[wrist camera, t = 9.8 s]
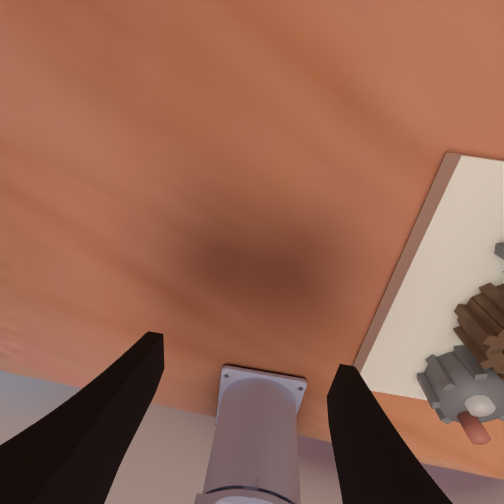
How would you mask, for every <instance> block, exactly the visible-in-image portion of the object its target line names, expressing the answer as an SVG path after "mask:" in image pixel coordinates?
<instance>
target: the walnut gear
mask: <svg viewBox="0 0 504 504" xmlns="http://www.w3.org/2000/svg"><path fill="white" fill-rule="evenodd" d="M479 289H480V291H481V293H479V294H477V295H475V296H472V298H470V299H469V301H468V302H467V304H466V305H465V304H458V305H457V307H456V309H455V310H454V312H455V313H456V315H457V316H458V318H457V321H458V323H459V325H460V326H458V327H455V328H453V330H454V332H455V334H456V335H457V336H458V338H459V339H460V340H461V341H462V343H463V344H464V345H465V346H466V348H467V349H468V350H469V352H470V353H471V354H472V355H473V357H474V358H475V359H476V360H477V362H478V363H479V364H480V365H481V367H482V368H483V369H487V368H490V367H492V369H493V370H494V371H495V372H496V373H497V375H498V376H499V377H500V378H501V379H502V380H504V284H501V285H498V286H496V287H495V286H494V285H493V284H492V283H488V284H485V285H483V286H481V287H479Z"/></svg>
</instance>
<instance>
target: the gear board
mask: <svg viewBox="0 0 504 504" xmlns="http://www.w3.org/2000/svg"><path fill="white" fill-rule="evenodd" d="M488 283H492V284H493V285H494V286H495V287H496V286H498V285H501V284H504V160H498V159H491V158H484V157H477V156H470V155H464V154H457V153H450V152H446V154H445V156H444V159H443V161H442V163H441V165H440V168H439V170H438V172H437V175H436V177H435V179H434V181H433V184H432V186H431V188H430V191H429V193H428V195H427V197H426V200H425V202H424V204H423V206H422V209H421V211H420V213H419V216H418V218H417V220H416V222H415V225H414V227H413V229H412V232H411V234H410V236H409V238H408V241H407V243H406V245H405V248H404V250H403V252H402V254H401V257H400V259H399V261H398V264H397V266H396V268H395V270H394V273H393V275H392V277H391V280H390V282H389V284H388V286H387V289H386V291H385V293H384V296H383V298H382V300H381V302H380V305H379V307H378V309H377V312H376V314H375V316H374V318H373V321H372V323H371V325H370V327H369V330H368V332H367V334H366V337H365V339H364V341H363V343H362V346H361V348H360V350H359V353H358V355H357V357H356V359H355V362H354V364H353V366H355V367H356V368H357V370H358V371H359V373H360V375H361V376H362V378H363V379H364V381H365V383H366V384H367V386H368V388H369V389H370V390H371V391H377V392H382V393H388V394H394V395H400V396H406V397H411V398H417V399H423V400H428V402H429V404H430V406H431V407H432V409H435V411H436V412H437V414H438V416H439V418H440V420H441V421H443V422H445V423H447V424H449V423H450V422H452V421H456V422H460V424H461V425H462V427H463V429H464V431H465V432H466V434H467V436H468V437H469V439H470V441H471V442H472V443H473V444H476V445H482V444H486V443H488V442H489V441H490V440H491V438H490V436H489V434H488V433H487V431H486V430H485V428H484V427H483V425H482V424H481V423H482V422H487V421H491V420H494V419H497V418H498V419H500V420H502V421H504V380H502V379H501V378H500V377H499V376H498V375H497V373H496V372H495V371H494V370H493V369H492V367H490V368H487V369H483V368H482V367H481V365H480V364H479V363H478V362H477V360H476V359H475V358H474V357H473V355H472V354H471V353H470V352H469V350H468V349H467V348H466V346H465V345H464V344H463V343H462V341H461V340H460V339H459V338H458V336H457V335H456V334H455V332H454V330H453V328H455V327H458V326H460V325H459V323H458V321H457V318H458V316H457V315H456V313H455V312H454V310H455V309H456V307H457V305H458V304H465V305H466V304H467V302H468V301H469V299H470V298H472V296H475V295H477V294H479V293H481V291H480V289H479V287H481V286H483V285H485V284H488Z"/></svg>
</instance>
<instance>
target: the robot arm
mask: <svg viewBox="0 0 504 504" xmlns="http://www.w3.org/2000/svg"><path fill="white" fill-rule="evenodd" d="M163 371H164V343H163V334H161V333H155V332H147V333H146V334H145V335H143V336H142V337H141V338H140V339H139V340H138V341H137V342H136V343H135V344H134V345H133V346H132V347H131V348H130V349H129V350H127V351H126V352H125V353H124V354H123V355H122V356H121V357H120V358H119V359H117V360H116V361H115V362H114V363H113V364H112V365H111V366H109V367H108V368H107V369H106V370H105V371H104V372H102V373H101V374H100V375H99V376H98V377H96V378H95V379H94V380H93V381H91V382H90V383H89V384H88V385H86V386H85V387H84V388H83V389H81V390H80V391H79V392H78V393H76V394H75V395H74V396H72V397H71V398H70V399H69V400H67V401H66V402H64V403H63V404H62V405H60V406H59V407H58V408H56V409H55V410H53V411H52V412H50V413H49V414H48V415H46V416H45V417H43V418H42V419H40V420H39V421H37V422H36V423H35V424H33V425H31V426H30V427H28V428H27V429H25V430H24V431H22V432H21V433H19V434H18V435H16V436H14V437H13V438H11V439H10V440H8V441H6V442H5V443H3V444H2V445H0V504H104V503H105V500H106V498H107V495H108V493H109V490H110V488H111V485H112V483H113V480H114V478H115V476H116V473H117V471H118V468H119V466H120V464H121V462H122V459H123V457H124V455H125V453H126V451H127V449H128V447H129V445H130V443H131V441H132V439H133V437H134V435H135V433H136V431H137V429H138V427H139V425H140V423H141V421H142V419H143V417H144V415H145V413H146V411H147V409H148V406H149V405H150V403H151V401H152V399H153V397H154V395H155V392H156V390H157V387H158V384H159V382H160V379H161V376H162V373H163ZM306 387H307V381H306V380H305V379H303V378H297V377H291V376H285V375H280V374H274V373H268V372H262V371H256V370H251V369H245V368H239V367H233V366H223V368H222V371H221V380H220V389H219V398H218V407H217V416H216V431H215V435H214V440H213V445H212V450H211V454H210V459H209V464H208V469H207V474H206V479H205V483H204V489H203V493H202V494H200V493H198V494H197V495H196V499H195V503H194V504H301V502H300V482H299V462H298V442H297V420H296V416H297V413H298V410H299V407H300V404H301V402H302V399H303V396H304V393H305V390H306ZM327 407H328V420H329V428H330V434H331V440H332V445H333V450H334V456H335V462H336V467H337V472H338V478H339V483H340V489H341V494H342V501H343V504H452V502H451V501H450V500H449V499H448V497H447V496H446V495H445V494H444V493H443V492H442V490H441V489H440V488H439V487H438V485H437V484H436V483H435V482H434V480H433V479H432V478H431V477H430V475H429V474H428V473H427V472H426V470H425V469H424V468H423V466H422V465H421V464H420V462H419V461H418V460H417V458H416V457H415V456H414V454H413V453H412V452H411V450H410V449H409V448H408V446H407V445H406V443H405V442H404V441H403V439H402V438H401V436H400V435H399V433H398V432H397V431H396V429H395V428H394V426H393V425H392V423H391V422H390V420H389V419H388V417H387V416H386V414H385V413H384V411H383V410H382V408H381V407H380V405H379V403H378V402H377V400H376V399H375V397H374V396H373V394H372V392H371V391H370V389H369V388H368V386H367V384H366V383H365V381H364V379H363V378H362V376H361V375H360V373H359V371H358V370H357V368H356V367H355V366H349V365H343V364H340V365H339V368H338V370H337V373H336V375H335V378H334V380H333V383H332V385H331V388H330V390H329V392H328V395H327Z"/></svg>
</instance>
